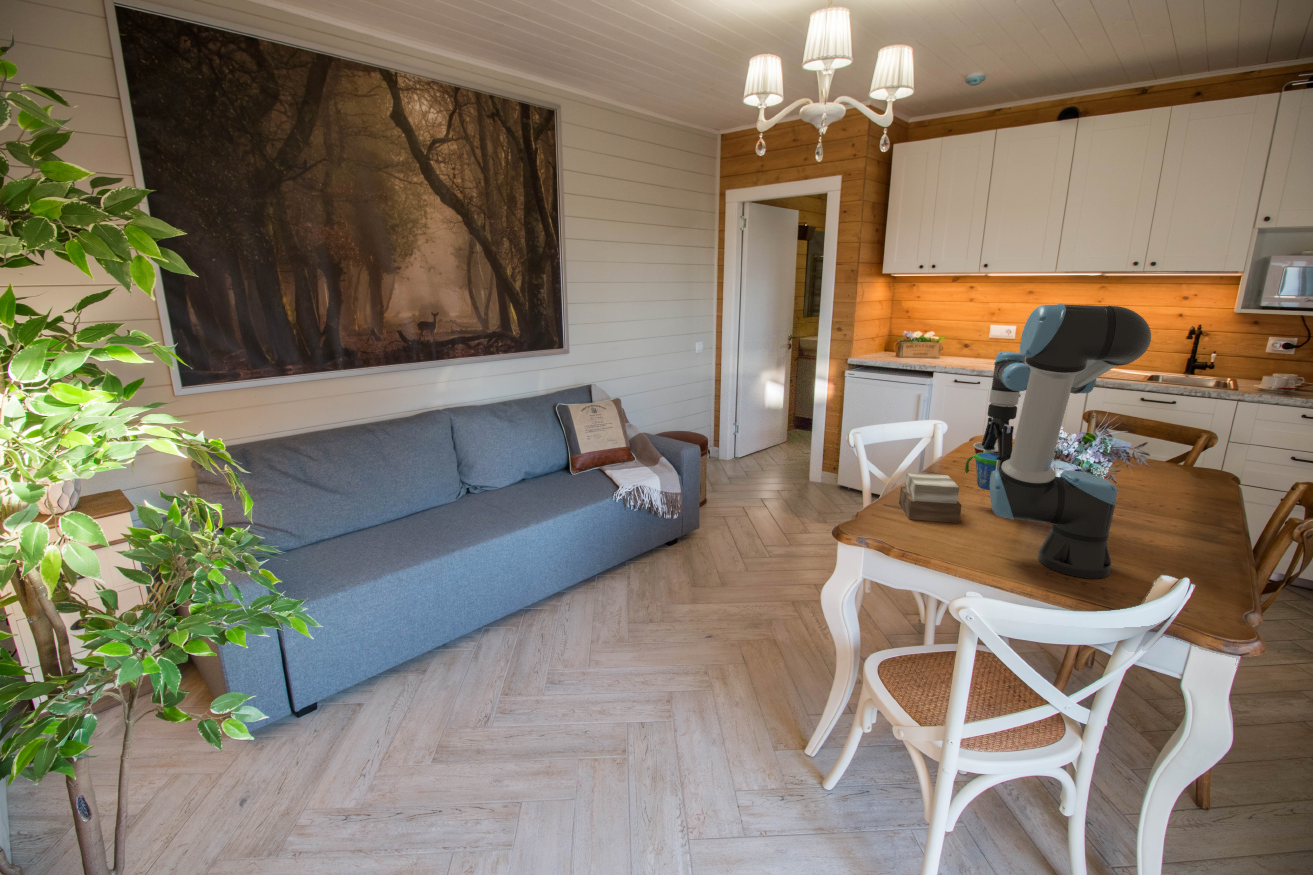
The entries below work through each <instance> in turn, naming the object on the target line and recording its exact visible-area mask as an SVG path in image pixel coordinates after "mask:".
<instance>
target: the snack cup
mask: <svg viewBox="0 0 1313 875" xmlns="http://www.w3.org/2000/svg"><path fill="white" fill-rule="evenodd" d="M1005 456H1006V455H1005ZM998 457H999V454H998V453H977V454H976V453H975V454H974V455H971V456H970V457H969V458H968V459H967V460H966V463H965V466H964V473H966V474H968V473H969V472H970V468H969V467H970V466H969V465H970V461H972V459H973V458H974V460H975V466H976V465H977V469H976V484H977V487H978V488H979V489H982V490H985V491H990V477H991V474H992V472H993V471H995V470H996V464H997V460H996V458H998Z"/></svg>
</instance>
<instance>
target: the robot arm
mask: <svg viewBox="0 0 1313 875" xmlns="http://www.w3.org/2000/svg"><path fill="white" fill-rule="evenodd" d="M1151 342H1152V331H1151V328H1150V325H1149V324H1148V322H1147V321H1146V319H1144V317H1143V316H1141V315H1140V314H1139V313H1137V312H1136V311H1134V310H1132V309H1129V308H1127V307H1124V306H1119V305H1091V304H1090V305H1089V304H1088V305H1087V304H1085V305H1084V304H1065V303H1064V304H1063V303H1058V304H1041V305H1040V306H1037V307H1036V308H1034V309H1033V311H1032V312H1031V313H1030V315H1029V316H1028V318H1027V319H1026V322H1025V324H1024V326H1023V330H1022V333H1021V337H1020V344H1019V352H1014V351H999V352H997V354H996V356H995V361H994V364H993V365H994V368H993V375H992V384H991V388H990V394H989V400H988V402H989V403H990V404H988V408H987V416H988V418H987V424H986V428H985V431H984V433H983V434H984V435H983V438H982V441H981V442H982V446H983V449H985V450H984V452H983V453H994V451H993V450H995V447H994V445H995V443H998V453H999V457H998V458H996V460H997V464H996V470H995V471H993V472H992V474H991V477H990V490H989V499H990V506H991V509H992V512H993V513H994V515H995V516H997V517H1000V518H1003V519H1004V518H1005V519H1010V520H1012V521H1014V520H1019V521H1027V522H1028V521H1029V522H1034V523H1035V522H1036V523H1045V524H1046V523H1047V524H1052V525H1051V528H1050V531H1049V533H1048V535H1047V536H1046V538H1045V539H1044V540H1043V542H1042V544H1041V546H1040V548H1039V550H1038V554H1037V560H1038V561H1039V562H1040V564H1042V565H1044V566H1045V567H1047V568H1049V569H1051V570H1053V571H1056V572H1058V573H1061V574H1064V575H1067V576H1071V577H1076V578H1083V579H1093V580H1094V579H1104V578H1107V577H1108V576H1110V573H1111V569H1112V562H1111V561H1112V560H1111V556H1110V551H1109V545H1108V541H1109V540H1108V539H1109V534H1110V530H1111V525H1112V521H1113V516H1114V513H1115V507H1116V506H1117V497H1118V488H1117V486H1116V485H1115V484H1114V483H1112V482H1111V481H1110V480H1108V479H1106V478H1104V477H1100V476H1098V475H1095V474H1091V473H1088V472H1084V471H1079V470H1074V469H1073V470H1071V469H1069V470H1067V469H1066V470H1063V471H1062V472H1061V473H1060V476H1057V475H1056V474H1057V473H1056V472H1055V470H1054V469H1053V468H1052V467H1051V466H1052V461H1053V458H1054V455H1055V450H1056V448H1057V444H1058V439H1059V436H1060V433H1061V432H1060V431H1061V429H1062V425H1063V420H1064V417H1065V414H1066V410H1067V406H1068V402H1069V398H1070V396H1071V394H1075V395H1076V394H1089V393H1091V392H1092V391H1093V390H1094V388H1095V386H1096V383H1097V378H1100V377H1101V376H1103V375H1104V374H1106V373H1107V372H1109V371H1111V370H1113V369H1114V368H1115V367H1122V366H1127V365H1129V364H1131V363H1133V362H1135V361H1136V360H1138V359H1139V358H1142V356H1143V355H1144V354H1145V353H1146V352H1147V351H1148V349H1149V347H1150V344H1151ZM1020 392H1025V393H1024V399H1023V403H1022V407H1021V410H1020V411H1021V412H1020V415H1019V420H1018V423H1017V424H1018V425H1017V429H1016V433H1015V437H1014V441H1013V436H1014V434H1013V433H1014V429H1015V428H1014V425H1010V420H1015V419H1016V417H1017V413H1018V406H1017V405H1018V404H1019V398H1021V395H1022V394H1021V393H1020ZM1005 455H1006V456H1005Z"/></svg>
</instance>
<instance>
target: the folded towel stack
mask: <svg viewBox="0 0 1313 875" xmlns="http://www.w3.org/2000/svg"><path fill="white" fill-rule="evenodd" d="M904 485H905V486H900V490H899V491H900V494H899V498H898V499H899V500H898V504H899V505H900V507H901V509H902V510H903V512H904V513H905V516H906V517H907V519H908V520H912V521H914V520H915V521H927V522H942V523H954V524H955V523H956V524H959V523H960V518H961V514H962V513H961V512H962V507H963V506H962V504H961V502H959V501H958V500H959V493H960V487H959V485H958V484H957V483H956V482H955V481H954V480H953V479H952V478H951V477H950V476H949V475H948V474H938V473H936V474H934V473H923V472H922V473H921V472H919V473H918V472H906V476H905V484H904Z"/></svg>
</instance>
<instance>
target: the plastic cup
mask: <svg viewBox="0 0 1313 875" xmlns="http://www.w3.org/2000/svg"><path fill="white" fill-rule="evenodd" d="M972 447H973V448H974V453H975V455H976V454H977V453H983V452H984V450H985V449H983V446H982V441H978V442H975V443H973V445H972ZM994 447H995V450H993V451H994V453H998V442H996V443H995V445H994ZM998 454H999V453H998ZM975 467H976V470H977V465H976V464H975Z"/></svg>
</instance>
